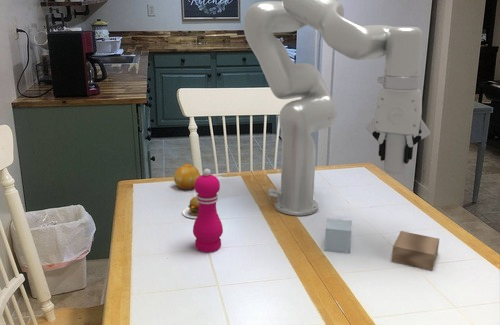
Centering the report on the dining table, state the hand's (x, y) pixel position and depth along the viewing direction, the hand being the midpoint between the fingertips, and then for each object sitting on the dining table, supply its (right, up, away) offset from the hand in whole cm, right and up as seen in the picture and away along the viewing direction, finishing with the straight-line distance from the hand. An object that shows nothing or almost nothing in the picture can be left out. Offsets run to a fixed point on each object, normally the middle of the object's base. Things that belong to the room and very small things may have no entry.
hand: (394, 159), depth 120 cm
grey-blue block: (-13, -21, +5) cm, 25 cm away
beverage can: (0, -3, +1) cm, 3 cm away
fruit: (-54, -9, +43) cm, 70 cm away
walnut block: (+5, -23, 0) cm, 24 cm away
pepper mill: (-44, -21, +5) cm, 49 cm away
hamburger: (-49, -16, +24) cm, 57 cm away
